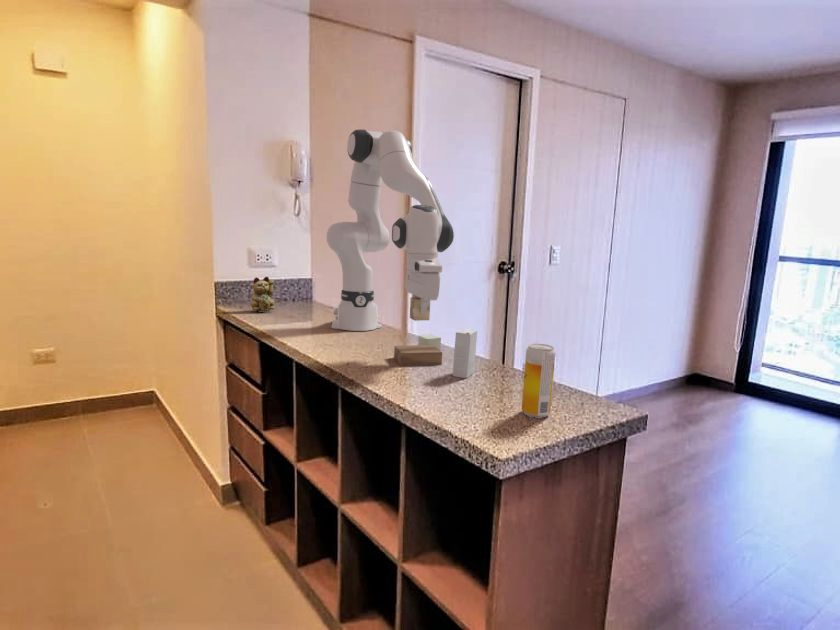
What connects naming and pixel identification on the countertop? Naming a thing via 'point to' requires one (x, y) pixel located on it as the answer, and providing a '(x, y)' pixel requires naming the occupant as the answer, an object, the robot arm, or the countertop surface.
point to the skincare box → (464, 353)
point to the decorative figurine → (262, 295)
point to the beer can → (538, 380)
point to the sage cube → (430, 340)
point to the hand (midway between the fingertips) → (419, 311)
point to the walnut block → (417, 355)
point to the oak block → (418, 309)
